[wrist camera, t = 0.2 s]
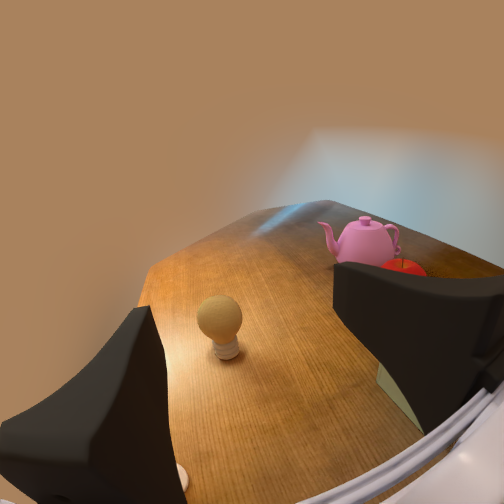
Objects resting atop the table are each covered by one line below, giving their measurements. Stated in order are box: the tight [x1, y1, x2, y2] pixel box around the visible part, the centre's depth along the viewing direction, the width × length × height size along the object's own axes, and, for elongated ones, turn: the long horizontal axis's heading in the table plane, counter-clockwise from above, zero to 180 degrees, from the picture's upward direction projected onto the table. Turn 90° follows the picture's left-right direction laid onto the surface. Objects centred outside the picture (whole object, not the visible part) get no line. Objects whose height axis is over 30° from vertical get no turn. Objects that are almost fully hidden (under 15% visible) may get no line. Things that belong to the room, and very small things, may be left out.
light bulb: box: [197, 295, 242, 360], centre depth 40 cm, size 6×6×10 cm
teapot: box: [318, 216, 401, 267], centre depth 62 cm, size 20×14×12 cm
